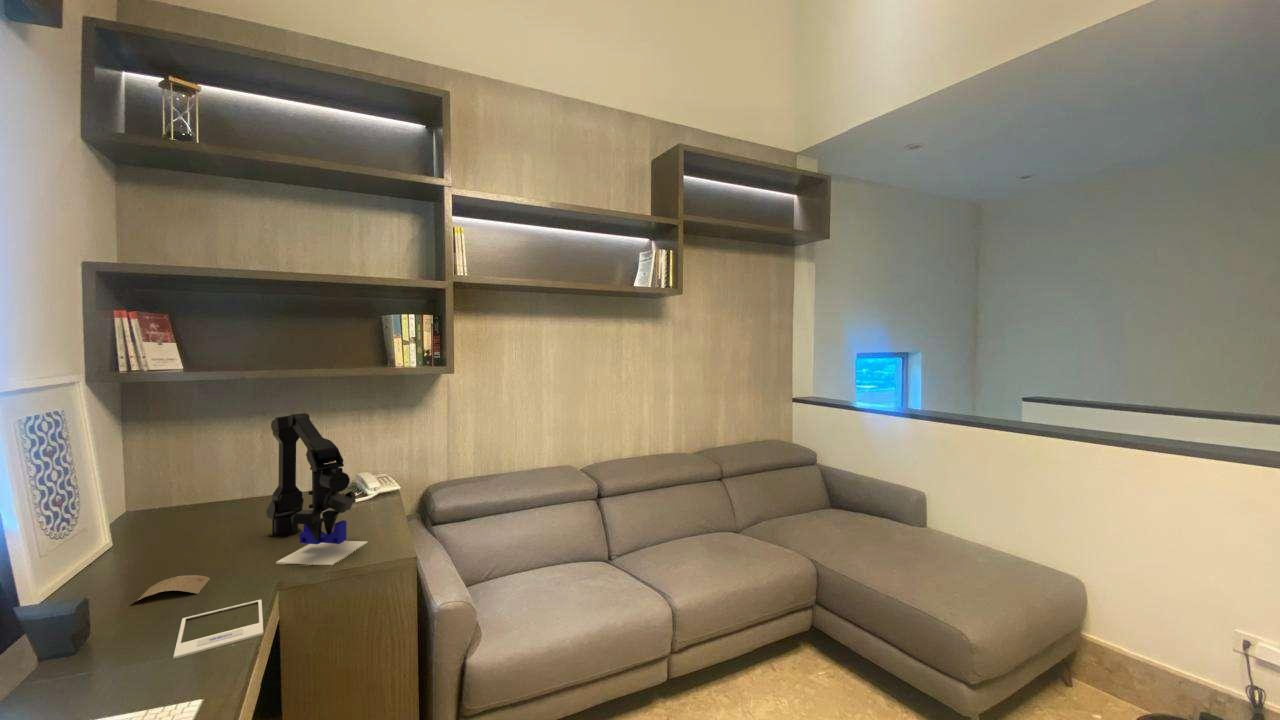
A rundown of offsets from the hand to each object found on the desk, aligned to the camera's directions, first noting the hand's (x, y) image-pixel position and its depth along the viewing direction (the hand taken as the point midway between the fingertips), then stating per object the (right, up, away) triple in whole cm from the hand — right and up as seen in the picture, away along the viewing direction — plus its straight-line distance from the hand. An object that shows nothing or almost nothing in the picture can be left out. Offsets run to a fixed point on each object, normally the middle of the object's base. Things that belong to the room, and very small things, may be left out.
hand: (323, 537), depth 156 cm
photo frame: (+2, -7, -40) cm, 41 cm away
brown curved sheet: (-24, -6, -24) cm, 34 cm away
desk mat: (0, -5, 0) cm, 5 cm away
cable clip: (0, -2, 0) cm, 2 cm away
